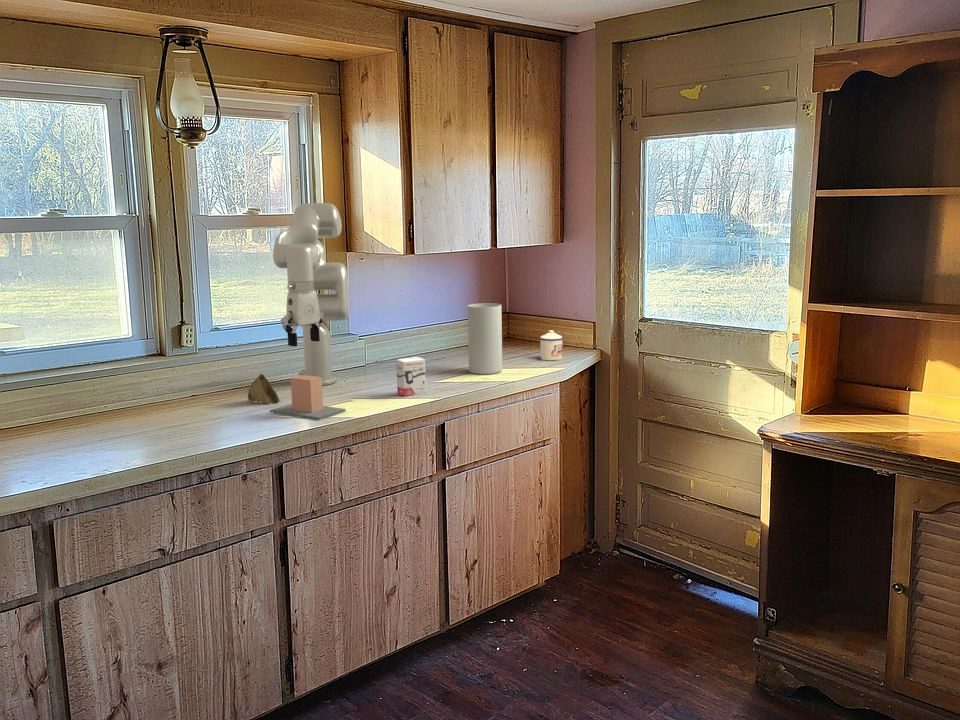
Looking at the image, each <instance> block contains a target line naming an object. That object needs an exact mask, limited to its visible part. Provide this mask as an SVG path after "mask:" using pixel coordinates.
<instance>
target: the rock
mask: <svg viewBox="0 0 960 720" xmlns="http://www.w3.org/2000/svg"><path fill="white" fill-rule="evenodd" d="M247 400H248V401H249V400H250V402H253V401H257V402H256V403H258V402H262V403H261V404H264V403H267V405H271V404H270V403H275V404H279V403H278V402H281V400H280V397H279V396H278V393H277V392H276V390H274V388H273V386H272V384H271V382H270V381H269V380H268V379H267V378H266V376H265V375H264V374H263V373H260V374H259V375H258V376H257V377H256V378H255V379H254V380H253V382H252V383H251V384H250V386H249V389H248V392H247Z"/></svg>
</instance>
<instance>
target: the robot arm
mask: <svg viewBox="0 0 960 720" xmlns="http://www.w3.org/2000/svg"><path fill="white" fill-rule="evenodd" d="M342 228H343V225H342V218H341V215H340V212H339V210H338V208H337V206H336V205H334V203H331V202H314V203H313V202H310V203H309V202H307V203H302V204H299V205H298V206H296V208H295V209H294V211H293V215H292V216H291V217H290V218H289V227H288V228H286V229H284V230H282V231H281V232H280V233H278V234H277V236H276V237H275V241H274V245H273V249H272V251H273V253H272V258H273V259H272V260H273V262H274V265H275V266H276V267H277V268H279V269H286V271H287V286H286V288H287V290H288V292H287V296H286V306H285V307H286V309H285V310H286V312H285V313H286V314H285V315H284V316H283V317H282V318H281V319H280V323H281V325H282V329H283V330H284V331H285V333H287V344H288V345H287V346H289V347H298V334H297V332H296V330H297V329H298V327H302V340H303V353H304V354H303V355H304V356H303V358H304V369H303V368H302V369H300V370H298V376H300V375H307V376H315V377H322V386H326V385H331V384H335V383H337V381H338V379H337V377H336V376H333V363H332V343H331V341H332V339H331V333H330V330H329V329H328V327H327V326H326V325H325V324H324V323H323V322H330V321H331V322H334V321H337V322H338V321H345V320H347V319H348V318H349V316H350V295H349V294H350V293H349V292H350V291H349V277H348V276H349V275H348V270H347V267H346V266H345V265H344V264H343V263H342V262H327V261H326V249H325V247H324V245H323V244H322V242H321V241H320V240H319V239H326V238H327V239H330V238H332V239H333V238H337V237H339V236H340V235H341V233H342ZM317 291H334V292H335V293H317Z"/></svg>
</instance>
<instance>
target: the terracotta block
mask: <svg viewBox="0 0 960 720" xmlns="http://www.w3.org/2000/svg"><path fill="white" fill-rule="evenodd" d="M290 391H291V393H290V394H291V404H292V410H297V411H304V412H311V413H312V412H316V411H319V410H322V409H323V406H324V400H323V399H324V397H323V385H322V377H315V376H307V375H296V376H293V377H290Z"/></svg>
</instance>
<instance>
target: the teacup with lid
mask: <svg viewBox="0 0 960 720" xmlns="http://www.w3.org/2000/svg"><path fill="white" fill-rule="evenodd" d="M539 341H540V342H539V343H540V348H539V349H540V360H542V361H546V360H557V361H560V359H561V360H562V359H563V344H564V343H563V336H562V335H560V334H558V333H557V332H555V331H554V330H551V329H550V330H548V332H547V333H545V334H543V335H541V336H540V337H539Z"/></svg>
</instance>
